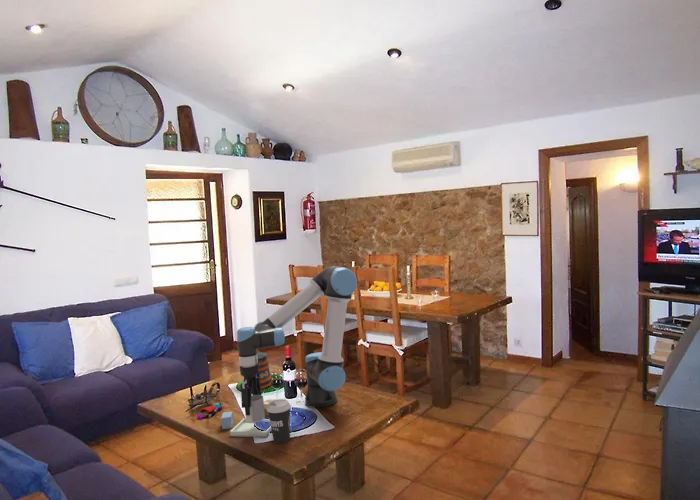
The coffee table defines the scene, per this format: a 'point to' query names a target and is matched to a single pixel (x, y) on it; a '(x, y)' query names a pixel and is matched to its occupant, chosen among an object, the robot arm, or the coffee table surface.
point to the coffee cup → (279, 420)
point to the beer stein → (263, 370)
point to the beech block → (268, 401)
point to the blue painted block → (227, 420)
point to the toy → (210, 410)
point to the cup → (257, 407)
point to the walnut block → (266, 411)
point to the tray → (249, 429)
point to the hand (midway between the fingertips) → (253, 417)
